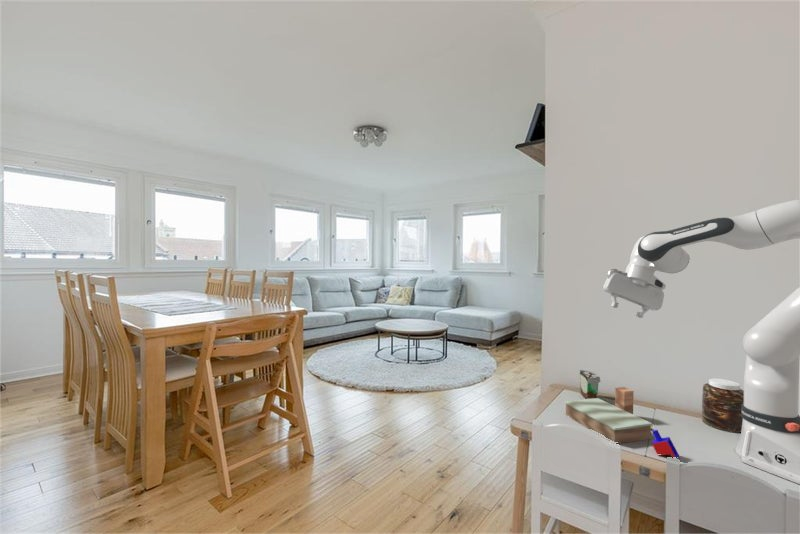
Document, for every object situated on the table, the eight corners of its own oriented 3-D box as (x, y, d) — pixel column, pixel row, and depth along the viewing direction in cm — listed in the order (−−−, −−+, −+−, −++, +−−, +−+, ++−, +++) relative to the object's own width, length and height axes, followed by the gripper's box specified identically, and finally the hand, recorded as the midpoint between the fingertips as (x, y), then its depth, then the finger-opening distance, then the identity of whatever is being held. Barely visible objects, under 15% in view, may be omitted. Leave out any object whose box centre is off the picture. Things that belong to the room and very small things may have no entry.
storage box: (652, 439, 117) (652, 423, 117) (614, 444, 114) (614, 428, 114) (597, 411, 139) (597, 398, 139) (564, 414, 136) (564, 401, 136)
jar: (753, 428, 125) (754, 384, 125) (736, 435, 120) (737, 389, 120) (711, 415, 136) (712, 375, 136) (694, 421, 131) (695, 379, 131)
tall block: (633, 418, 133) (633, 390, 133) (624, 419, 132) (624, 391, 132) (623, 413, 137) (624, 387, 137) (614, 414, 136) (615, 387, 136)
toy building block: (663, 457, 109) (649, 429, 112) (679, 455, 107) (664, 427, 109) (661, 462, 107) (646, 433, 109) (677, 460, 104) (661, 431, 107)
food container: (604, 404, 146) (605, 379, 146) (587, 403, 147) (588, 378, 147) (594, 393, 158) (595, 370, 158) (579, 392, 159) (579, 369, 159)
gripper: (615, 265, 134) (603, 300, 132) (670, 287, 133) (659, 322, 131) (606, 268, 141) (594, 301, 139) (658, 288, 139) (647, 323, 137)
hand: (626, 312), depth 135 cm, fingers open, 8 cm apart
